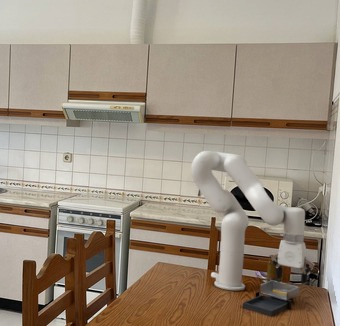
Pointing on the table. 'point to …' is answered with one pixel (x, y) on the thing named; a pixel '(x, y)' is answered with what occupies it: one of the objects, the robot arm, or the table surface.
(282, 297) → the scoop
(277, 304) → the tray
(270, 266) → the condiment
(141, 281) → the table surface
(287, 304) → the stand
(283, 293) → the key
